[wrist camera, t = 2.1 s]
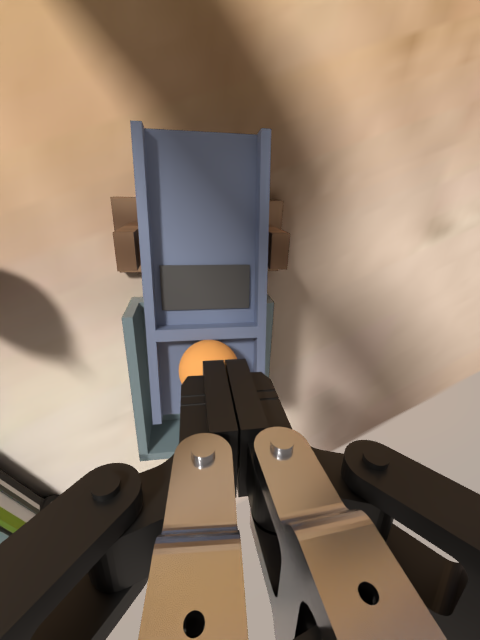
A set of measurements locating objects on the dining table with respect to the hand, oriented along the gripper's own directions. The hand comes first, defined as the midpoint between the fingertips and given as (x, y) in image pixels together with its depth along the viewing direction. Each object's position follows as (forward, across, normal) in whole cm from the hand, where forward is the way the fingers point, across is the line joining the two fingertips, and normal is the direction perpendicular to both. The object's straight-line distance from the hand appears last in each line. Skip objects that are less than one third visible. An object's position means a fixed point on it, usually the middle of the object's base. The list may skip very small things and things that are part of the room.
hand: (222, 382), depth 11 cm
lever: (+12, 0, 0) cm, 12 cm away
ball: (+9, 0, +5) cm, 10 cm away
